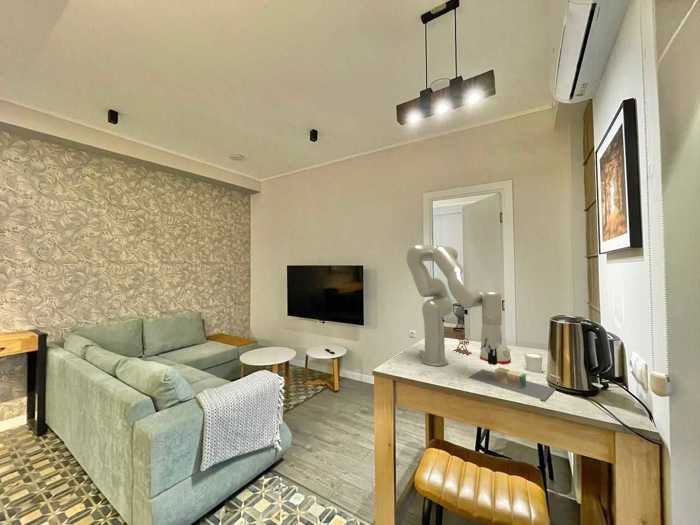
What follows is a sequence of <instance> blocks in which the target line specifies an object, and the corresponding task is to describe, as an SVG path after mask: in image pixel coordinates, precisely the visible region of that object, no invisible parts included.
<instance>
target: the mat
mask: <svg viewBox="0 0 700 525" xmlns="http://www.w3.org/2000/svg"><path fill="white" fill-rule="evenodd" d="M467 378H468V379H471V380H474V381H478V382H481V383H485V384H487V385H491V386H494V387H498V388H501V389H505V390H507V391H508V390H509V391H511V392H515V393H517V394H522V395H525V396H528V397H531V398H535V399H538V400H540V402H541V401H542V402H546V401H547V400H548V399H549V398H550V397H551V395H552V394H554V393H555V391H556V388H554V387H550V386H548V385H545V384H539V383H535V382H532V381H528V380H526V386H524V387H523V388H518V387H515V386H511V385H508V384H504V383H501V382H497V381H495V371H490V370H486V369H480V370H478V371H477V372H475V373H473V374H471V375H470V376H468V377H467Z"/></svg>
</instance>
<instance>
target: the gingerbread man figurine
mask: <svg viewBox="0 0 700 525" xmlns="http://www.w3.org/2000/svg"><path fill="white" fill-rule="evenodd" d="M454 335H455V338H456V339H457V340H458V341H459V344H458V346H457V347H456V348H455V349H453V352H454V351H456V352H455V353H457V352H459V353H458V354H460V353H462V354H461V355H464V354H466V355H465V356H470V355H469V354H471V355H473V354H472V352H471V351H469V350H468V348H467V346H468V345H469V344H470V341H469V339H467V338H466V333H465V331H464V330H460V331H459V332H456V333H455V334H454ZM464 339H465V340H464ZM460 345H461V347H460Z"/></svg>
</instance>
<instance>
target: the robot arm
mask: <svg viewBox="0 0 700 525" xmlns="http://www.w3.org/2000/svg"><path fill="white" fill-rule="evenodd" d="M458 257H459V255H458V252H457V250H456V249H455V247H452V246H444V245H434V244H414V245H412V246H410V248H409V249H408V251H407V252H406V257H405V258H406V263H407V266H408V269H409V271H410V273H411V275H412V278H413V280H414V284H415V287H416V289H417V292H418V294H419V296H421V297H422V298H429V299H427V300H425V301H424V303H423V304H422V307H421V310H422V311H421V312H422V317H423V323H424V324H423V325H424V329H423V330H424V349H423V350H422V349H420V350H419V352H418V355H420V356H422V358H421V362H422V363H423V364H424V363H425V364H424V365H427V366H431V367H444V366H447V365H448V364H449V360H448V359H447V358H446V356H445V355H446V351H445V349H446V348H445V347H446V345H445V324H444V321H443V318H442V317H445V316H446V317H447V316H449V315H450V314H452V312H453V310H454V306H453V305H454V304H453V301H452V299H451V296H450V294H451V295H452V296H453V298H454V300H455V301H456V302H457V304H459V306H461V307H463V308H465V309H472V308H477V307H481V324H482V325H481V335H480V336H481V338H480V340H481V341H480V348H481V347H482V348H484V347H486V349H485V352H487V354H488V362H487V364H488V365H491V366H496V365H498V363H497V353H498V348H499V346H501V343H502V341H503V339H502V325H503V320H502V319H503V318H502V317H503V316H502V314H503V313H502V311H503V310H502V294H501V293H500V292H499V291H496V290H495V291H493V290H491V291H490V290H488V291H486V290H481V289H468V287H466V285H465V284H464V282H463V280H462V277H461V275H462V273H463V272H464V268H463V267H462V265H461V264H460V263H459V261H458ZM424 262H434V263H435V265H436V266H437V267H438V268H439V270H440V271H441V272H442V274H443V275H444V276H445V278H446V279H447V286H448V289H447V286H446V285H445V283H444V282H443V281H442V280H441V279H439V278H436V277H435V278H434V277H432V276H431V274H430V271H429V269H428V267H427V266H426V265H425V264H424ZM448 290H449V292H450V294H449V292H448Z"/></svg>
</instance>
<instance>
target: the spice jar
mask: <svg viewBox="0 0 700 525" xmlns="http://www.w3.org/2000/svg"><path fill="white" fill-rule="evenodd" d="M494 372H495V381H497V382H501V383H504V384H508V385H511V386H515V387H518V388H523V387H524V386H526V381H527V378H526V377H527V376H526V374H527V373H524V372H519V371H516V370H512V369H511V370H510V369H509V368H504V367H500V366H499V367H498V368H496V369H494Z"/></svg>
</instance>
